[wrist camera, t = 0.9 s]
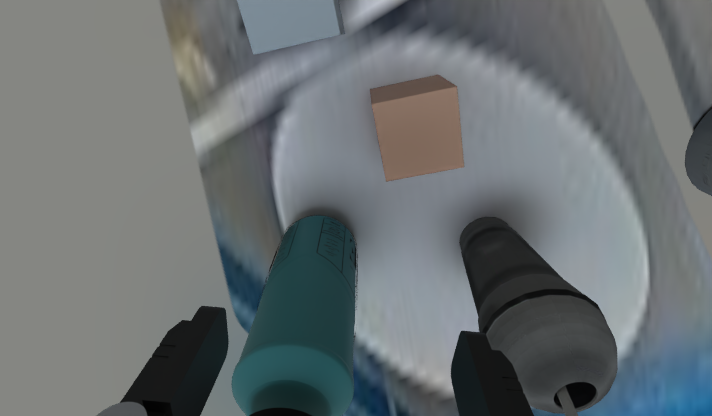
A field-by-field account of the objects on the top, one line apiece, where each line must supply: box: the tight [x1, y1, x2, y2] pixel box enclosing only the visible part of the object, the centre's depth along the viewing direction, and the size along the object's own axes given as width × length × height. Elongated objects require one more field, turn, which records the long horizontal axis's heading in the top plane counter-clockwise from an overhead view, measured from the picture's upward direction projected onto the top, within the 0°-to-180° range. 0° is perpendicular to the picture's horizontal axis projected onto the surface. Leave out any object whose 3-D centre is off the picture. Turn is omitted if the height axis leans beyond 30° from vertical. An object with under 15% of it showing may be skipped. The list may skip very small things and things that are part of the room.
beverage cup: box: [460, 217, 617, 416], centre depth 24 cm, size 7×7×20 cm
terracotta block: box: [370, 75, 464, 182], centre depth 26 cm, size 5×5×6 cm
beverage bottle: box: [232, 215, 358, 416], centre depth 24 cm, size 6×7×20 cm
